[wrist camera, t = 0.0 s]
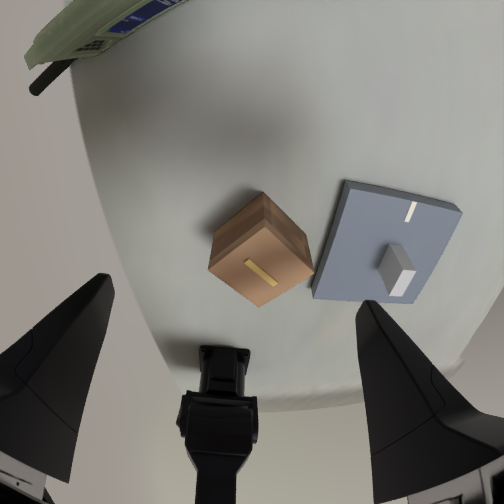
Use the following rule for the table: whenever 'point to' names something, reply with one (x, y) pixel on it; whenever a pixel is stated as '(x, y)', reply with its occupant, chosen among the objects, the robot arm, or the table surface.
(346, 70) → the table surface
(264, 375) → the table surface
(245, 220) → the taped cardboard box
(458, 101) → the table surface
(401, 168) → the table surface
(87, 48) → the handheld radio
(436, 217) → the light switch plate
